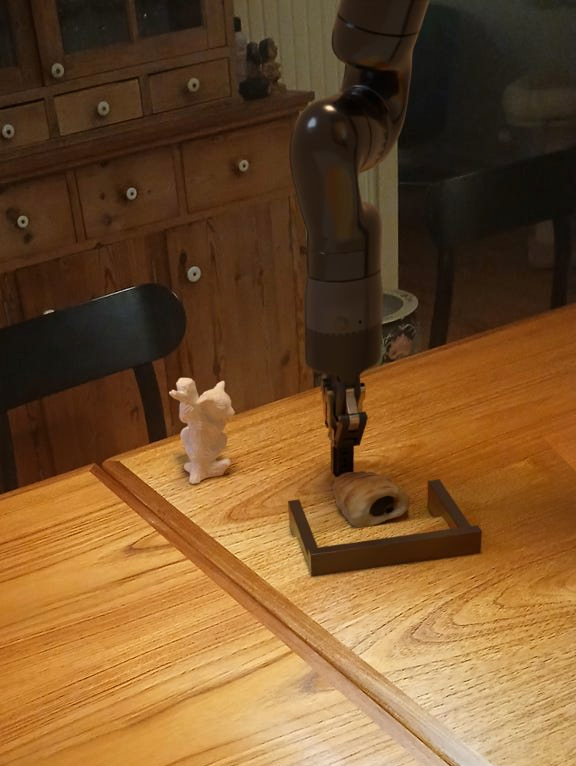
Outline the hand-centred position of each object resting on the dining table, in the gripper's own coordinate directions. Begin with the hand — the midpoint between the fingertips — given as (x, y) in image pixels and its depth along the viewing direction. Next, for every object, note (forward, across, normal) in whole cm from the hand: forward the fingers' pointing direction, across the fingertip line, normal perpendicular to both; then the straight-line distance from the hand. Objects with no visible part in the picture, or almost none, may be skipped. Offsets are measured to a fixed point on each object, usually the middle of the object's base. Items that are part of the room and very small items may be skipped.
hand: (341, 473), depth 108 cm
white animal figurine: (+2, +8, +14) cm, 17 cm away
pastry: (+1, -6, -1) cm, 7 cm away
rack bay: (+1, -14, -1) cm, 14 cm away
